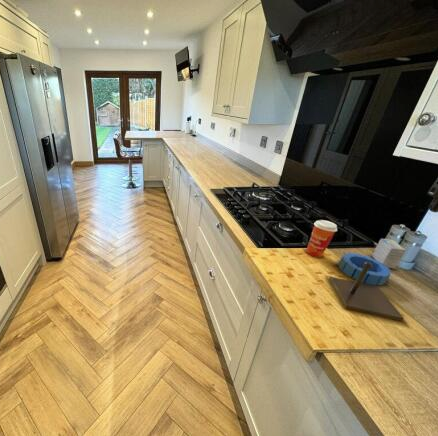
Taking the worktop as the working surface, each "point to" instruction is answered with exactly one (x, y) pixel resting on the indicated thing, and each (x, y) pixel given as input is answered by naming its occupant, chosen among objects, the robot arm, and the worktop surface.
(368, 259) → the blue notched ring
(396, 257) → the medicine box
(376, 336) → the worktop surface
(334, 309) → the worktop surface
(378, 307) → the brown peg stand
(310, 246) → the paper cup
